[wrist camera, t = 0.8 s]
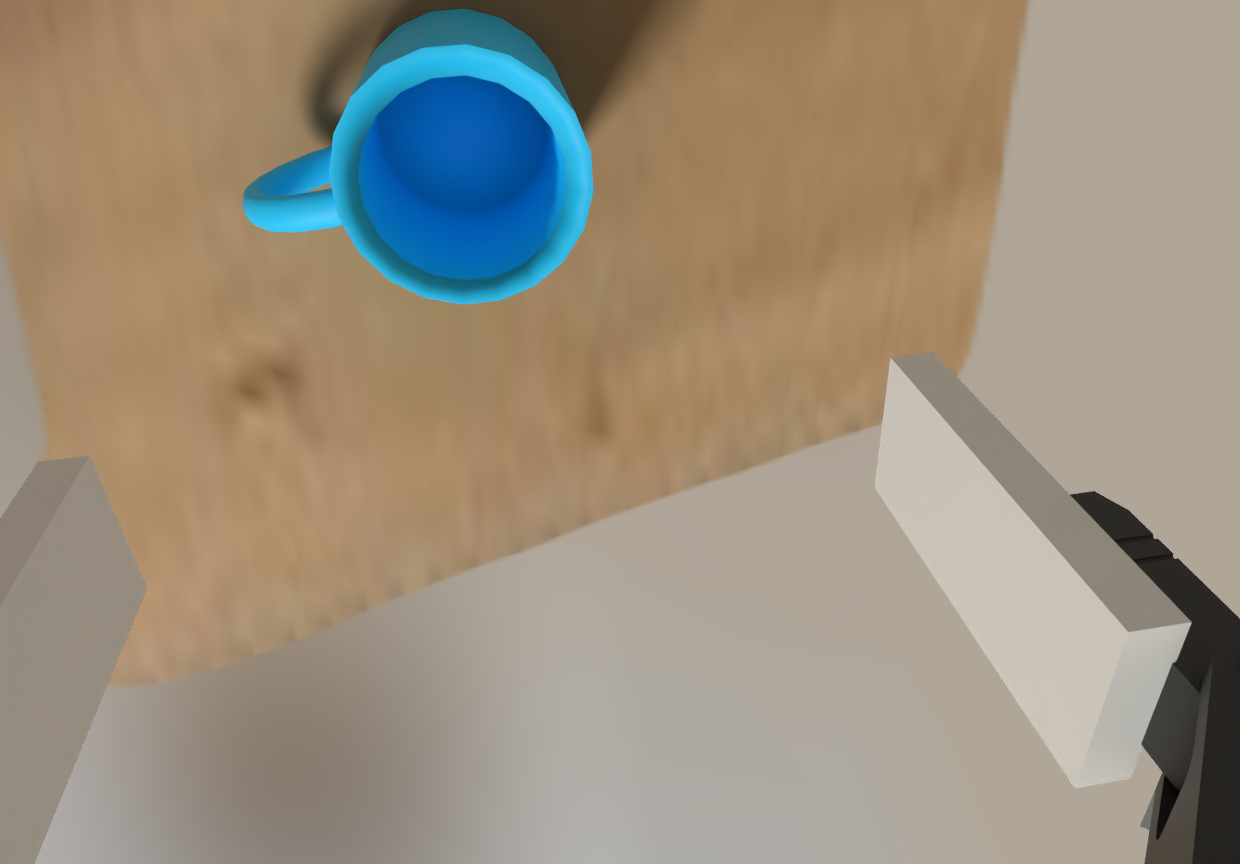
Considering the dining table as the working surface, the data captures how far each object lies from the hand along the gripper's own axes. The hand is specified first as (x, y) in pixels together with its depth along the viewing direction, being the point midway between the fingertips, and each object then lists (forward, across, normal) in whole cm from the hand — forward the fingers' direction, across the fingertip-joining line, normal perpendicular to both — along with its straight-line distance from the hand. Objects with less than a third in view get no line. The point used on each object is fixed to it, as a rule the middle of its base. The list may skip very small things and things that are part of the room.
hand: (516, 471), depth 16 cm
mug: (+24, -2, 0) cm, 25 cm away
